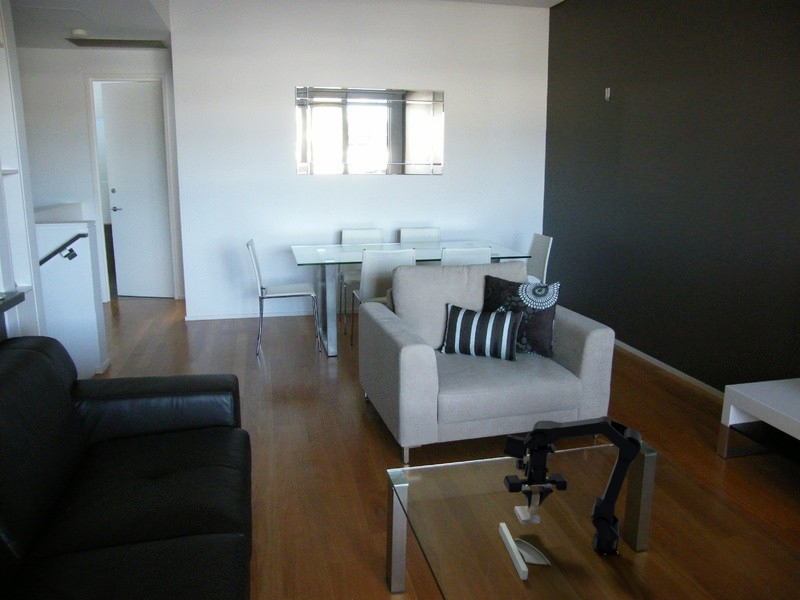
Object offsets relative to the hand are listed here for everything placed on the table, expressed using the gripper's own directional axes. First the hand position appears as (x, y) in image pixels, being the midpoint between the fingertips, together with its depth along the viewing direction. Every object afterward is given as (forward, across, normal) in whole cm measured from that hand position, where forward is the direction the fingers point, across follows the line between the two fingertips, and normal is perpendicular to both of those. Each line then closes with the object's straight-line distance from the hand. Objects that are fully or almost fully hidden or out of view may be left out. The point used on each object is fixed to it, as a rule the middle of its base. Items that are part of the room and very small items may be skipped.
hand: (532, 506), depth 204 cm
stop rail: (+8, +9, +11) cm, 17 cm away
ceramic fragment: (+9, +4, +12) cm, 16 cm away
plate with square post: (+4, +2, 0) cm, 4 cm away
